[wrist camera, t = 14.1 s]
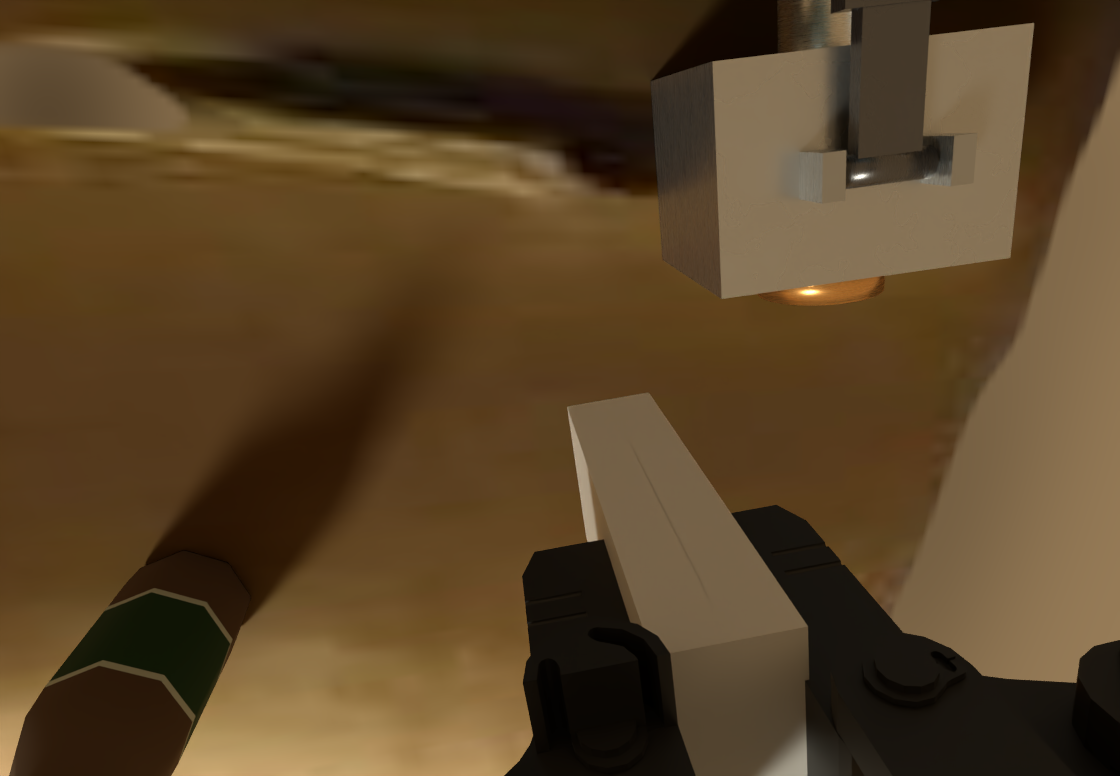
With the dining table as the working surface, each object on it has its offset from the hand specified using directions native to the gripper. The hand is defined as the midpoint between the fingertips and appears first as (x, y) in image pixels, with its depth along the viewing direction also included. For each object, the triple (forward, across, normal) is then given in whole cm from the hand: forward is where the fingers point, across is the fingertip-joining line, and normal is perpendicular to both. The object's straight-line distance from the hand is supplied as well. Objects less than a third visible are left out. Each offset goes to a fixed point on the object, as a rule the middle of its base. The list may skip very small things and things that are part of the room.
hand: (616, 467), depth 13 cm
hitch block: (+30, +16, +2) cm, 34 cm away
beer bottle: (+31, -25, -20) cm, 44 cm away
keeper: (+19, +15, +6) cm, 25 cm away
